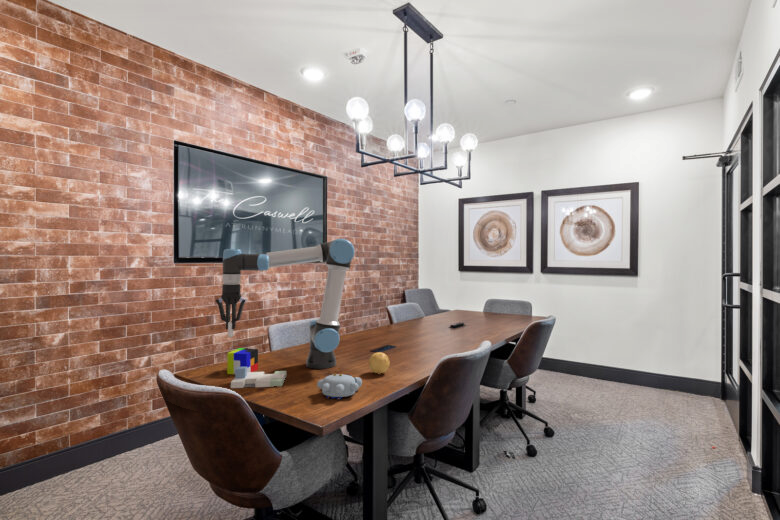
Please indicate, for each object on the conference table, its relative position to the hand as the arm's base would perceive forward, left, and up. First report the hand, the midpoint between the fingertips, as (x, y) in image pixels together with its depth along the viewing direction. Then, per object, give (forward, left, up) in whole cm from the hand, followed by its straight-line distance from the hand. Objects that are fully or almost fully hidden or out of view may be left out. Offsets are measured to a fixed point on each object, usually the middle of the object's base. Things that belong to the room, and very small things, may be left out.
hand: (230, 336), depth 173 cm
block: (-5, +3, -17) cm, 18 cm away
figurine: (-49, +21, -20) cm, 57 cm away
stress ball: (-67, -3, -20) cm, 70 cm away
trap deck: (-13, +3, -20) cm, 24 cm away
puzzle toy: (-2, -14, -20) cm, 25 cm away
